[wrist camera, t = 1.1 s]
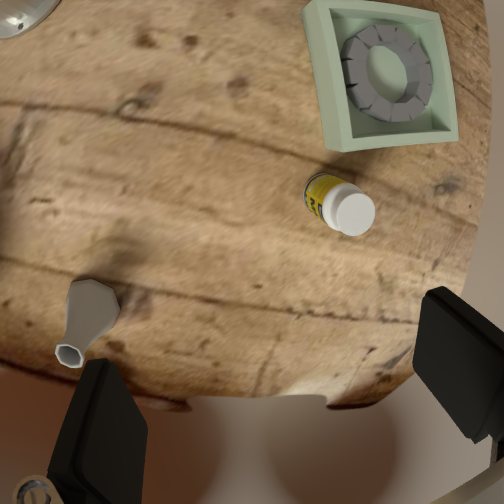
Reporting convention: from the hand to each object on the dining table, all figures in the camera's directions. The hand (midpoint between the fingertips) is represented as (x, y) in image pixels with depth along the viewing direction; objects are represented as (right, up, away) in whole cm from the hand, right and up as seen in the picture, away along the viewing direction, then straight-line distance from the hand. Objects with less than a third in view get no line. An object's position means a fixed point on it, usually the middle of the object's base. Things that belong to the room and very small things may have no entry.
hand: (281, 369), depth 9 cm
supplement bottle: (+7, +10, +26) cm, 29 cm away
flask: (-20, -3, +27) cm, 33 cm away
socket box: (+13, +23, +22) cm, 35 cm away
